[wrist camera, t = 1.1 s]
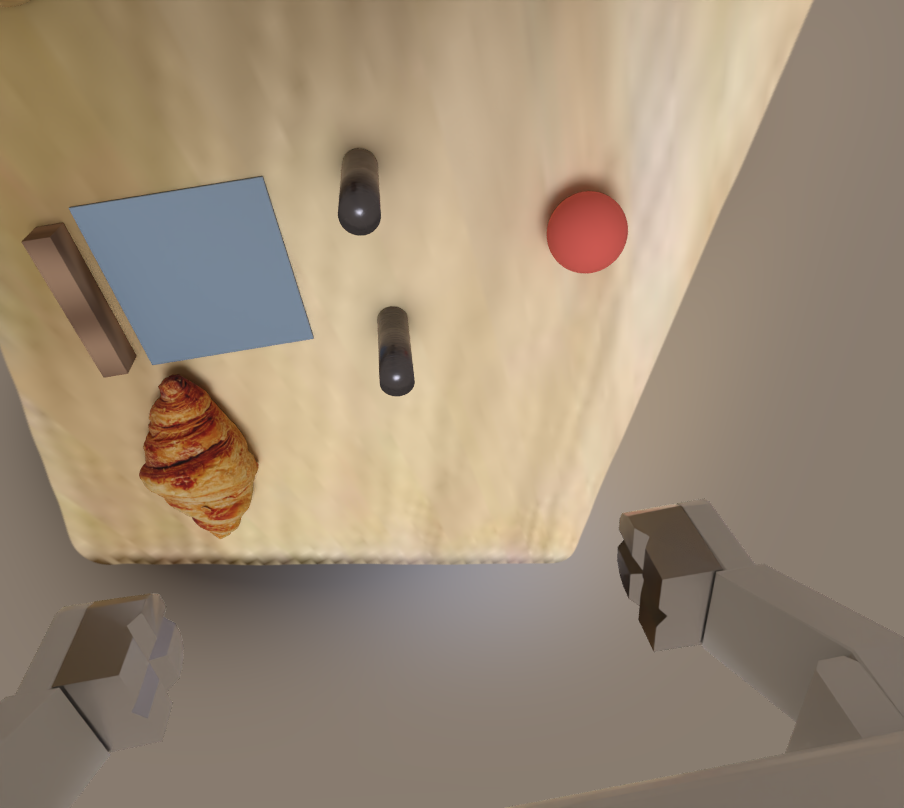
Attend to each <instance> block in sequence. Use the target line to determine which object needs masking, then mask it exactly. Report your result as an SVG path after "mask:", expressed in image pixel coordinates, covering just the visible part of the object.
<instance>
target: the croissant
mask: <svg viewBox="0 0 904 808" xmlns="http://www.w3.org/2000/svg"><path fill="white" fill-rule="evenodd" d="M158 387H159V389H160V393H161V397H160V398H159V399H157V401H156V402H155V403H154V405H153V406H152V408H151V410H150V416H149V420H150V424H149V425H148V426H149V430H150V431H149V433H148V435H147V437H146V440H145V442H144V446H143V449H144V451H145V459H146V463H145V464H144V465H143V467H142V468H141V470H140V473H139V476H140V479H141V480H142V481H143V483H144V485H145V486H146V487H147V488H148V489H149V490H150V491H151V492H154V493H156V494H158V495H159V496H162V497H164V498H165V500H166V502H167V503H168V504H169V505H170V506H173V507H174V509H176V510H178V511H180V512H182V513H184V514H186V515H188V516H190V517H192V519H193V520H194V521H195V523H196V524H197V525H199V526H200V527H201V528H203V529H205V530H208V531H210V532H211V533H212V534H213V535H215V536H216V537H218V538H219V539H222V538H224V537H226V536H228V535H229V534H230V533H231V532H232V531H234V530H236V529H237V528H238V526H239V524H240V522H241V517H242V515H243V514H244V513H245V512H246V511H247V509H248V508H249V506H250V503H251V500H252V494H253V480H254V478H255V474H256V473H257V471H258V463H257V462H256V461H255V458H254V456H253V455H252V454H251V453H250V452H249V451H248V450H247V448H248V446H247V442H246V440H245V438H244V437H243V435H242V433H241V432H240V431H239V429H238V428H237V426H236V425H235V424H234V423H233V422H232V421H230V420H229V419H228V417H227V416H226V415H225V414H224V413H223V412H222V411H221V409H220V408H219V407H218V406H217V405H216V403H215V402H213V401H212V400H211V398H210V396H209V395H208V394H207V392H206V391H205V390H203V389H202V388H200V387H199V386H197V385H196V384H195V383H193V382H191V381H189V380H187V379H185V378H184V377H182V376H180V375H171V376H169V377H167V378H165V379H164V380H163V381H162V382H161V384H160V385H159V386H158Z"/></svg>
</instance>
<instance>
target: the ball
mask: <svg viewBox="0 0 904 808" xmlns="http://www.w3.org/2000/svg"><path fill="white" fill-rule="evenodd" d="M627 235H628V225H627V220H626V217H625V214H624V212H623V210H622V208H621V207H620V206H619V204H618V203H617V202H616V201H615V200H614V199H612V198H611V197H609V196H607V195H605V194H603V193H600V192H594V191H585V192H580V193H576V194H574V195H572V196H570V197H568V198H566V199H565V200H564V201H562V202H561V203H560V204H559V205H558V206H557V208H556V209H555V210H554V212H553V213H552V215H551V217H550V220H549V223H548V227H547V242H548V246H549V249H550V251H551V253H552V255H553V257H554V258H555V259H556V261H557V262H558V263H559V264H561V265H562V266H563V267H565V268H566V269H568V270H571V271H573V272H577V273H593V272H597V271H600V270H602V269H604V268H606V267H608V266H609V265H610V264H612V263H613V262H614V261H615V260H616V259H617V258H618V257H619V255H620V254H621V252H622V251H623V249H624V246H625V244H626V240H627Z"/></svg>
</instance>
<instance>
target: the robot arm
mask: <svg viewBox="0 0 904 808" xmlns="http://www.w3.org/2000/svg"><path fill="white" fill-rule="evenodd" d="M619 531H620V533H621V535H622V537H623V539H624V540H623V541H622V543H621V544H620V545H619V546H618V554H617V562H618V568H619V574H620V578H621V581H622V584H623V587H624V589H625V591H626V593H627V596H628V598H629V599H630V600H631V601H633V602H634V603H636V604H637V605H639V606H640V608H639V618H638V620H639V622H640V624H641V626H642V628H643V630H644V633H645V635H646V637H647V639H648V641H649V643H650V645H651V647H652V649H653V651H654V652H656V651H662V650H669V649H675V648H682V647H688V646H695V645H702V647H703V648H704V649H705V650H706V651H708V652H709V653H710V654H711V655H713V656H714V657H715V658H716V659H718V660H719V661H720V662H721V663H723V664H724V665H725V666H726V667H728V668H729V669H730V670H731V671H733V672H734V673H735V674H736V675H738V676H739V677H740V678H741V679H743V680H744V681H745V682H747V683H748V684H749V685H750V686H751V687H753V688H754V689H755V690H757V691H758V692H759V693H760V694H761V695H763V696H764V697H765V698H766V699H768V700H769V701H770V702H771V703H773V704H774V705H775V706H776V707H778V708H779V709H780V710H781V711H783V712H784V713H785V714H787V715H788V716H789V717H790V718H791V719H793V720H794V721H795V722H796V724H795V727H794V730H793V732H792V735H791V738H790V740H789V743H788V746H787V749H786V752H785V754H780V755H775V756H769V757H764V758H759V759H754V760H749V761H744V762H739V763H733V764H728V765H723V766H718V767H713V768H708V769H703V770H697V771H692V772H687V773H682V774H677V775H671V776H667V777H661V778H656V779H651V780H646V781H641V782H635V783H630V784H625V785H620V786H615V787H610V788H604V789H599V790H594V791H589V792H584V793H578V794H574V795H568V796H563V797H558V798H553V799H547V800H542V801H538V802H532V803H527V804H522V805H517V806H512V807H506V808H904V637H903V636H901V635H899V634H897V633H895V632H893V631H891V630H889V629H887V628H886V627H884V626H882V625H880V624H878V623H876V622H874V621H872V620H870V619H868V618H867V617H865V616H863V615H861V614H859V613H857V612H855V611H853V610H851V609H849V608H848V607H846V606H844V605H842V604H840V603H838V602H836V601H834V600H832V599H830V598H828V597H827V596H825V595H823V594H821V593H819V592H817V591H815V590H813V589H811V588H810V587H808V586H806V585H804V584H802V583H800V582H798V581H796V580H794V579H792V578H791V577H789V576H787V575H785V574H783V573H781V572H779V571H777V570H775V569H773V568H772V567H770V566H768V565H766V564H758V565H756V564H755V563H754V562H753V561H752V559H751V558H750V556H749V555H748V554H747V552H746V551H745V549H744V548H743V547H742V545H741V544H740V543H739V541H738V540H737V539H736V537H735V536H734V534H733V533H732V532H731V530H730V529H729V528H728V526H727V525H726V524H725V522H724V521H723V520H722V518H721V517H720V515H719V514H718V513H717V511H716V510H715V509H714V507H713V506H712V504H711V503H710V502H709V501H707V500H706V499H698V500H693V501H687V502H682V503H677V504H670V505H665V506H659V507H654V508H648V509H642V510H637V511H631V512H626V513H622V515H621V517H620V520H619ZM165 610H166V605H165V603H164V601H163V600H162V598H161V596H160V595H159V594H155V593H150V594H143V595H137V596H130V597H123V598H116V599H109V600H102V601H95V602H92V603H85V604H78V605H71V606H64V607H63V608H62V609H61V610H60V611H59V612H57V613H56V615H55V616H54V618H53V620H52V622H51V624H50V626H49V628H48V630H47V632H46V634H45V636H44V638H43V640H42V642H41V644H40V646H39V648H38V650H37V652H36V654H35V656H34V658H33V660H32V662H31V664H30V666H29V668H28V670H27V672H26V674H25V676H24V678H23V680H22V682H21V684H20V686H19V688H18V690H17V692H16V694H15V695H14V696H9V697H5V698H4V699H3V700H1V701H0V808H70V807H71V806H72V805H73V803H74V802H75V801H76V799H77V798H78V797H79V796H80V794H81V793H82V792H83V790H84V789H85V788H86V787H87V785H88V784H89V783H90V781H91V780H92V779H93V777H94V776H95V775H96V774H97V772H98V771H99V770H100V768H101V767H102V766H103V764H104V763H105V762H106V760H107V759H108V758H109V756H110V753H109V752H114V751H119V750H124V749H128V748H133V747H137V746H142V745H147V744H152V743H157V742H161V741H163V738H164V734H165V731H166V727H167V723H168V720H169V716H170V712H171V709H172V705H173V702H172V700H171V699H170V697H169V695H168V693H167V692H168V691H169V689H170V688H171V687H172V686H173V685H174V684H175V683H176V682H177V680H178V679H179V678H180V674H181V670H182V666H183V650H184V645H183V641H182V637H181V633H180V631H179V629H178V627H177V625H176V623H174V622H172V621H170V620H168V619H166V618H165V617H164V614H165Z"/></svg>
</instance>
